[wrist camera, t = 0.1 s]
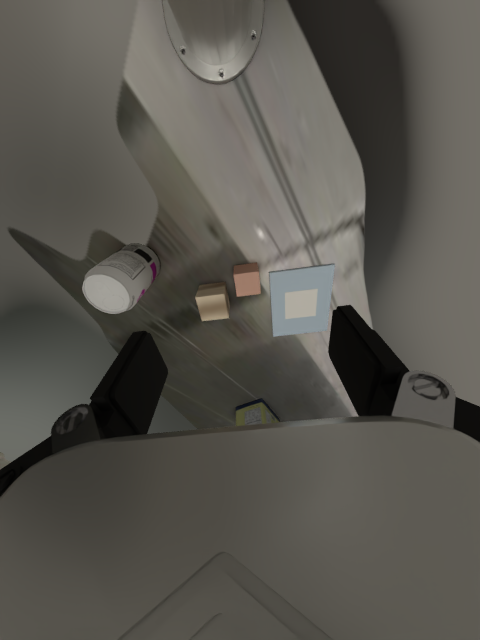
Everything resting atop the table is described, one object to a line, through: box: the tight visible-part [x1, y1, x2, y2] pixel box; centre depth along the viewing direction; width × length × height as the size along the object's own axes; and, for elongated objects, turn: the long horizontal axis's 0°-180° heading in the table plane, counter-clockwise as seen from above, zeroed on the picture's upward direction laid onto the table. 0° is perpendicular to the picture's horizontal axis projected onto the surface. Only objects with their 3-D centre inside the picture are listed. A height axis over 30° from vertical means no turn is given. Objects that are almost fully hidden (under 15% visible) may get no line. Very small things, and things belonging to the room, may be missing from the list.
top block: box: [234, 263, 261, 297], centre depth 46 cm, size 5×5×5 cm
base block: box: [195, 282, 230, 321], centre depth 49 cm, size 6×6×6 cm
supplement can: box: [82, 244, 160, 314], centre depth 40 cm, size 8×8×15 cm
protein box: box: [236, 399, 280, 426], centre depth 72 cm, size 10×16×16 cm
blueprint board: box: [269, 264, 335, 336], centre depth 52 cm, size 18×14×1 cm
